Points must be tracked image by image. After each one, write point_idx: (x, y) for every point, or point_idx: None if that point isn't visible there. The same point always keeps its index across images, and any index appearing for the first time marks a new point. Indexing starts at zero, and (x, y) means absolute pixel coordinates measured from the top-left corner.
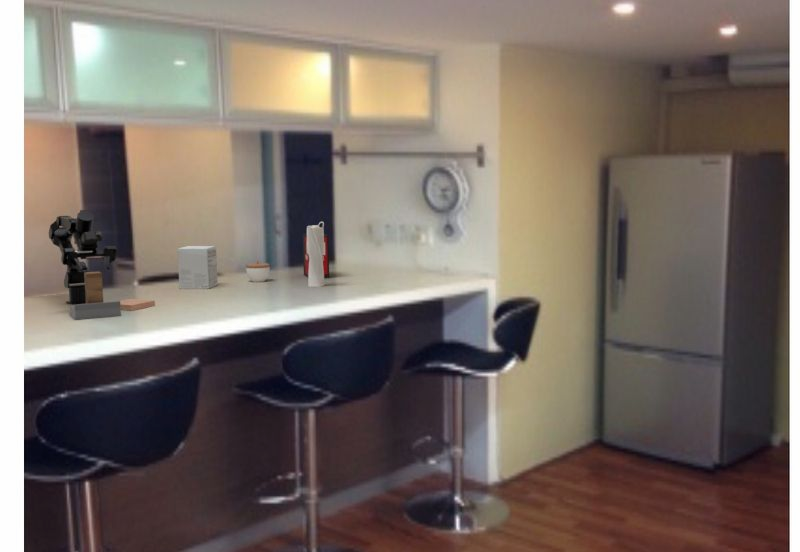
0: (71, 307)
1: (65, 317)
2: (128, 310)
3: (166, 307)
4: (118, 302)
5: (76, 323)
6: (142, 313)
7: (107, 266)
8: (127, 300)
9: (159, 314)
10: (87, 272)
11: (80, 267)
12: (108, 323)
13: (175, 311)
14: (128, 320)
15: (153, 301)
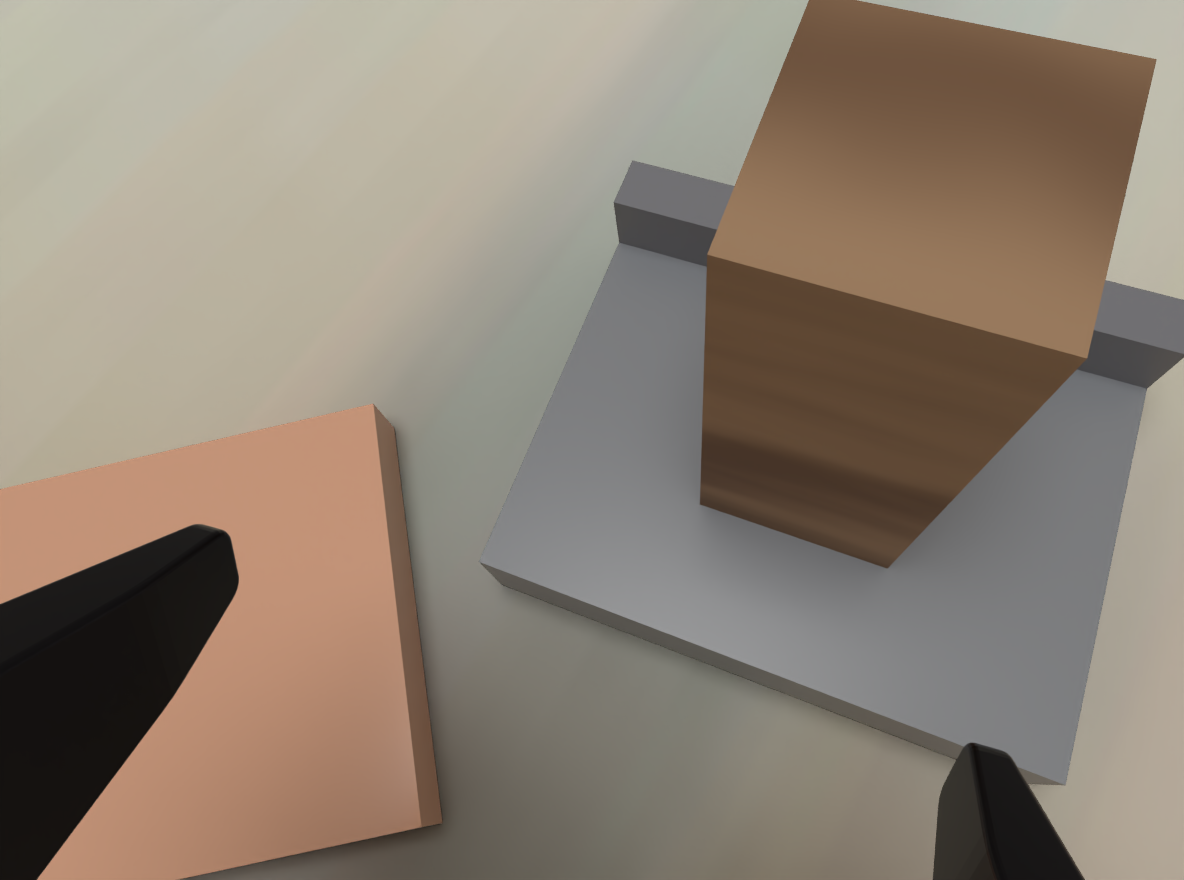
0: (1082, 651)
1: (1142, 634)
2: (398, 468)
3: (73, 334)
4: (653, 171)
5: (1178, 199)
6: (439, 216)
7: (190, 565)
8: (116, 799)
9: (393, 73)
10: (1005, 314)
11: (1050, 825)
12: (940, 11)
13: (214, 100)
14: (741, 16)
15: (21, 488)
